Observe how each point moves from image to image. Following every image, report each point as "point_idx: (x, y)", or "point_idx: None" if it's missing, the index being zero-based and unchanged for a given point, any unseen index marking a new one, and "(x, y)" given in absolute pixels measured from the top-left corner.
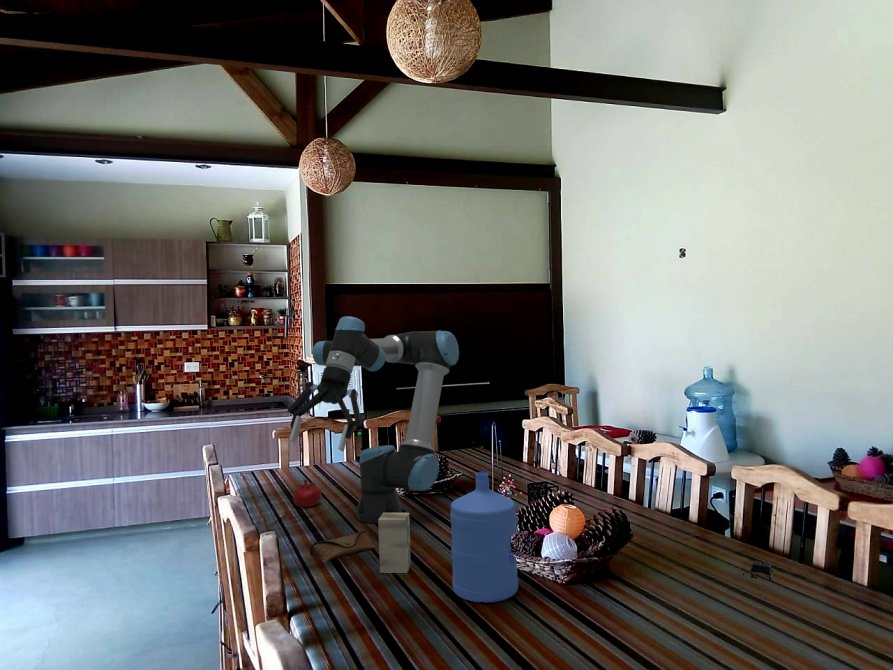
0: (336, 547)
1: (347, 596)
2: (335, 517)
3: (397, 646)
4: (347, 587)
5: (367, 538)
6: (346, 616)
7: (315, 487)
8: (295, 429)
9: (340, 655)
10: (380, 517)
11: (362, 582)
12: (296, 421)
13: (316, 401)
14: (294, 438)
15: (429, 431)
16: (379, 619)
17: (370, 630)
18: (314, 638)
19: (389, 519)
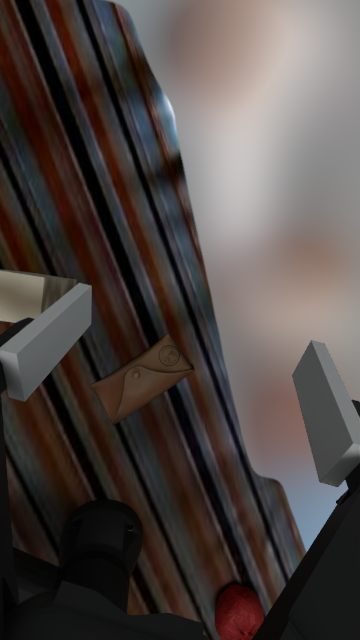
0: (153, 365)
1: (116, 201)
2: (178, 534)
3: (28, 28)
4: (120, 234)
5: (106, 402)
6: (109, 134)
7: (228, 635)
8: (322, 381)
9: (101, 18)
10: (41, 291)
11: (100, 249)
12: (346, 411)
13: (274, 624)
14: (303, 369)
15: None
16: (61, 116)
17: (70, 84)
18: (142, 73)
19: (19, 274)
